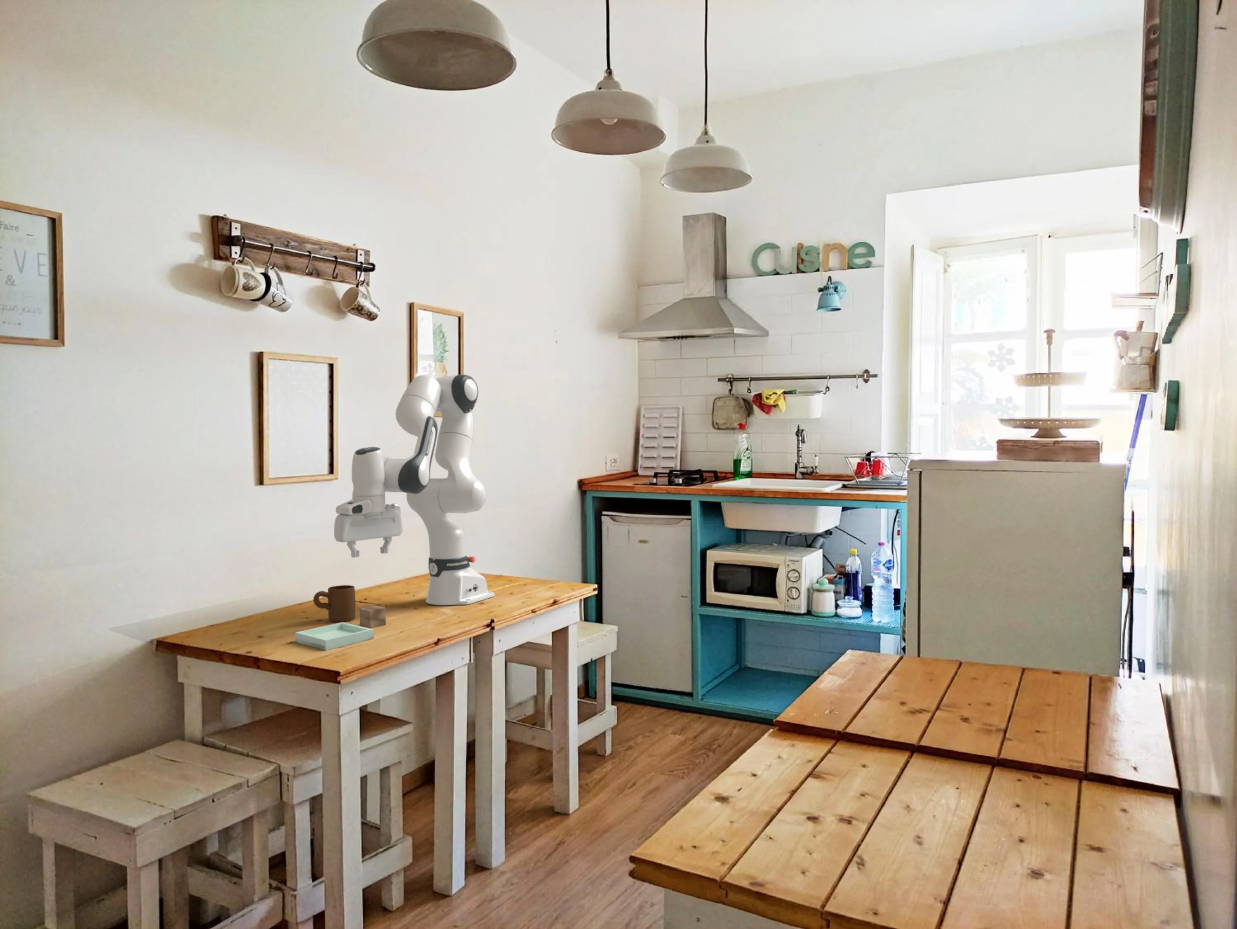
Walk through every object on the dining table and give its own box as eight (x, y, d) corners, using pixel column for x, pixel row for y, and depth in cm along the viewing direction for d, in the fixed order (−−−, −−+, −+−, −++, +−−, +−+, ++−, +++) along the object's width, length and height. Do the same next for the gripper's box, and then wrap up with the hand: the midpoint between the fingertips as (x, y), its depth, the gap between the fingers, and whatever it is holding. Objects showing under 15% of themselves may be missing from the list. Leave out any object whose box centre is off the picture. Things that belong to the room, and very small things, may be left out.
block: (375, 623, 244) (374, 605, 243) (385, 625, 241) (385, 607, 240) (360, 626, 240) (359, 608, 240) (370, 628, 237) (370, 610, 236)
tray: (342, 631, 234) (342, 622, 234) (373, 638, 225) (373, 629, 225) (295, 642, 223) (295, 632, 223) (326, 650, 214) (325, 640, 214)
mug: (319, 626, 240) (318, 593, 239) (309, 622, 245) (308, 589, 245) (360, 619, 248) (359, 587, 247) (349, 615, 253) (348, 583, 253)
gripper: (393, 502, 249) (394, 550, 249) (330, 507, 233) (331, 558, 233) (406, 503, 245) (407, 551, 245) (343, 508, 229) (344, 560, 229)
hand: (370, 555), depth 239 cm, fingers open, 8 cm apart
